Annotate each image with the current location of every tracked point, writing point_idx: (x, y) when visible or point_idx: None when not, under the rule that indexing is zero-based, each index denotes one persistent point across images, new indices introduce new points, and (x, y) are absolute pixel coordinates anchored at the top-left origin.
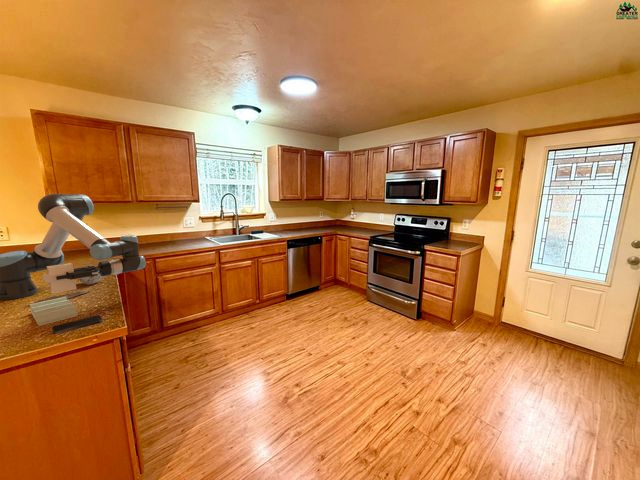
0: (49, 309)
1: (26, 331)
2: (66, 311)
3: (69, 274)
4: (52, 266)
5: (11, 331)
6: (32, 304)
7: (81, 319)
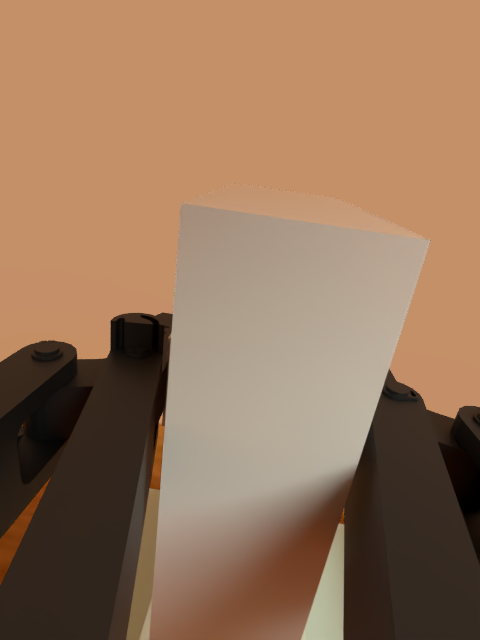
0: None
1: None
2: None
3: (50, 342)
4: (281, 192)
5: (160, 435)
6: None
7: None
